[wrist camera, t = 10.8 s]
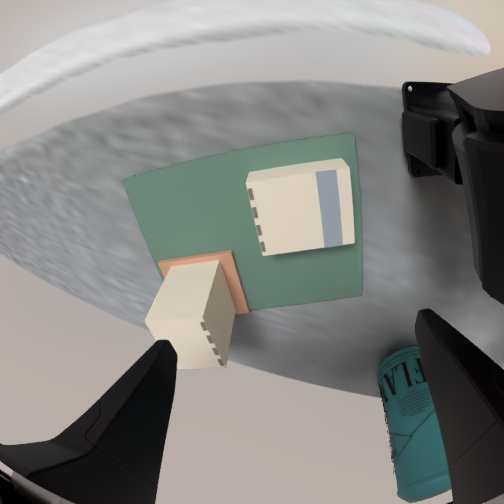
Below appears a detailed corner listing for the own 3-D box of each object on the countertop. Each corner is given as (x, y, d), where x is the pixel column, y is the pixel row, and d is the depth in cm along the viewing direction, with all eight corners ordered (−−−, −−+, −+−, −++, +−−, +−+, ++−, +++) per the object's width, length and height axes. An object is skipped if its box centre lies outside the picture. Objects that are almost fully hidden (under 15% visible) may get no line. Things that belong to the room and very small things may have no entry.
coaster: (231, 250, 22) (231, 253, 21) (249, 309, 25) (248, 313, 25) (159, 260, 23) (157, 263, 23) (184, 315, 26) (183, 318, 26)
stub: (219, 260, 22) (202, 318, 17) (235, 309, 24) (225, 368, 19) (170, 266, 23) (144, 321, 17) (191, 313, 25) (173, 369, 20)
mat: (352, 132, 17) (354, 133, 17) (361, 292, 24) (362, 295, 23) (124, 178, 20) (122, 180, 19) (180, 312, 26) (179, 315, 26)
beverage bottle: (417, 324, 25) (471, 516, 8) (433, 352, 28) (476, 511, 11) (362, 354, 28) (387, 543, 11) (385, 378, 30) (410, 535, 13)
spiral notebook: (341, 158, 18) (349, 168, 16) (347, 227, 20) (355, 243, 18) (249, 172, 19) (245, 183, 17) (264, 239, 21) (262, 256, 19)
